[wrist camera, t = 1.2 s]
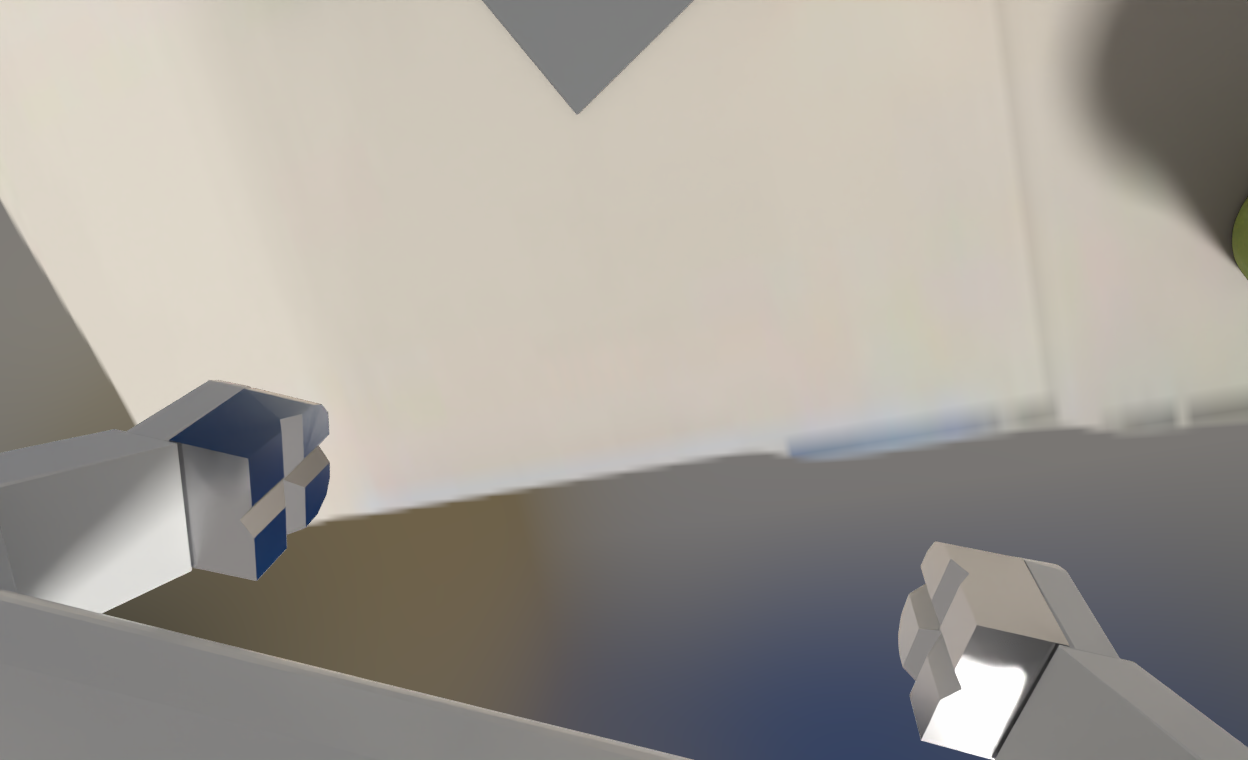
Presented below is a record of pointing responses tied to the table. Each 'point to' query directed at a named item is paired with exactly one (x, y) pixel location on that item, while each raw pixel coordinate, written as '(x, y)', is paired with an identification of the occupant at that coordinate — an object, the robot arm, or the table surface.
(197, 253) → the table surface
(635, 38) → the mat
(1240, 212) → the plant pot
